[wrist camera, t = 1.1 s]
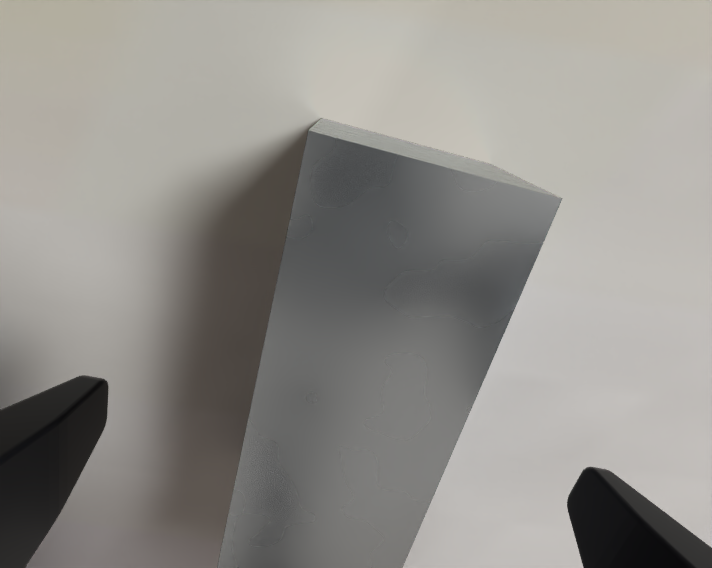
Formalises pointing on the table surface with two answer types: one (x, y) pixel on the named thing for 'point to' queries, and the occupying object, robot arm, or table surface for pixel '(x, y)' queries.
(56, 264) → the table surface
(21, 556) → the robot arm
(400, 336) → the block
